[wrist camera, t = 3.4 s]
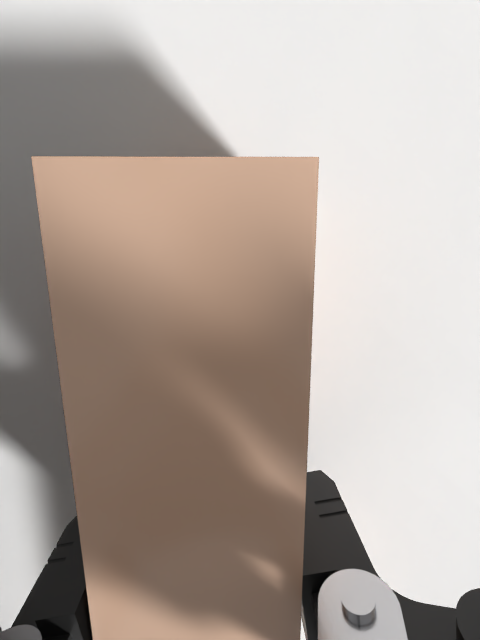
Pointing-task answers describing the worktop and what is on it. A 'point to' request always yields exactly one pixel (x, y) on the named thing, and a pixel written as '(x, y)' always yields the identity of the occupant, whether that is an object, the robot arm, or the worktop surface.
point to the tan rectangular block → (185, 385)
